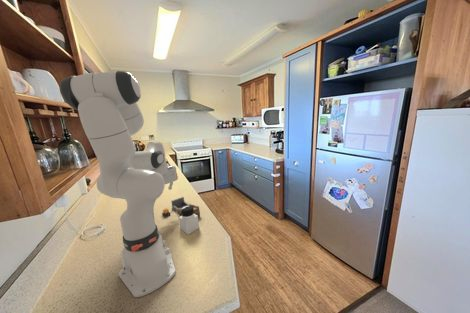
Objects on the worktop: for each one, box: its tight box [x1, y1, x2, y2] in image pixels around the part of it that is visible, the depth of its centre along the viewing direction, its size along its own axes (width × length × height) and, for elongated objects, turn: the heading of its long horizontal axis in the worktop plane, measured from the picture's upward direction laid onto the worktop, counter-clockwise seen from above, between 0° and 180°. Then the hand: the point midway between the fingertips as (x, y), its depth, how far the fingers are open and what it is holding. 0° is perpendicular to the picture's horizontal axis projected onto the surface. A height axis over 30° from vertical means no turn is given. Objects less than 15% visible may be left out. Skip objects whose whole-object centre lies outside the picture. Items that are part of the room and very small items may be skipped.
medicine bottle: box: [178, 206, 200, 235], centre depth 90 cm, size 7×7×12 cm
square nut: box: [161, 211, 171, 218], centre depth 106 cm, size 4×4×2 cm
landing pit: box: [170, 196, 190, 214], centre depth 113 cm, size 10×8×5 cm
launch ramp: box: [177, 203, 201, 218], centre depth 104 cm, size 12×8×6 cm, turn 40°
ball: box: [162, 207, 170, 214], centre depth 106 cm, size 3×3×3 cm
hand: (163, 192), depth 104 cm, fingers open, 8 cm apart
